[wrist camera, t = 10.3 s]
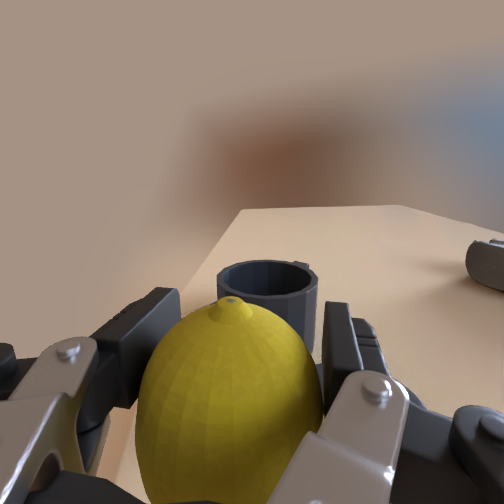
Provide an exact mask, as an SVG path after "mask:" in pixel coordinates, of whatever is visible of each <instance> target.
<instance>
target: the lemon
mask: <svg viewBox="0 0 504 504" xmlns="http://www.w3.org/2000/svg"><path fill="white" fill-rule="evenodd" d="M323 421H324V403H323V397H322V391H321V385H320V380H319V375H318V372H317V368H316V365H315V363H314V361H313V358H312V356H311V354H310V352H309V350H308V349H307V347H306V345H305V343H304V342H303V340H302V339H301V337H300V336H299V335H298V334H297V333H296V332H295V330H294V329H293V328H292V327H291V326H290V325H289V324H288V323H286V322H285V321H284V320H283V319H281V318H280V317H279V316H277V315H276V314H274V313H272V312H271V311H269V310H267V309H265V308H262V307H260V306H257V305H254V304H249V303H245V302H244V301H243V300H242V299H240V298H238V297H234V296H228V297H223V298H221V299H219V300H218V301H217V302H216V303H215V304H212V305H208V306H205V307H203V308H200V309H198V310H196V311H194V312H192V313H190V314H189V315H187V316H186V317H184V318H183V319H182V320H180V321H179V322H178V323H177V324H175V325H174V326H173V327H172V328H171V329H170V330H169V332H168V333H167V334H166V335H165V336H164V337H163V338H162V339H161V340H160V342H159V343H158V345H157V346H156V348H155V350H154V351H153V353H152V355H151V358H150V360H149V362H148V364H147V367H146V369H145V372H144V374H143V378H142V382H141V385H140V391H139V396H138V405H137V416H136V426H135V446H136V454H137V459H138V464H139V468H140V473H141V477H142V482H143V485H144V488H145V492H146V494H147V496H148V498H149V501H150V502H151V504H166V503H179V502H191V501H204V500H208V501H213V502H217V503H222V504H266V503H267V501H268V500H269V498H270V496H271V494H272V493H273V491H274V489H275V487H276V485H277V484H278V482H279V480H280V478H281V477H282V475H283V473H284V471H285V469H286V468H287V466H288V464H289V462H290V461H291V459H292V457H293V455H294V453H295V452H296V450H297V448H298V446H299V445H300V443H301V441H302V439H303V438H304V436H305V435H306V434H307V433H308V432H309V431H312V432H314V433H316V434H317V433H318V431H319V429H320V427H321V425H322V423H323Z"/></svg>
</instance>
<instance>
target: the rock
mask: <svg viewBox="0 0 504 504" xmlns="http://www.w3.org/2000/svg"><path fill="white" fill-rule="evenodd" d="M465 262H466V268H467V271H468V273H469V274H470V276H471V277H472V278H473V279H474V280H476V281H477V282H479V283H481V284H483V285H486V286H488V287H491V288H495V289H498V290H502V291H504V241H501V240H499V239H492V240H490V242H489V243H488V242H482V241H479V242H477V241H476V240H475V241H474V242H473V243H472V244H471V245H470V246H469V248H468V251H467V254H466V260H465Z"/></svg>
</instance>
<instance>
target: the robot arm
mask: <svg viewBox="0 0 504 504" xmlns="http://www.w3.org/2000/svg"><path fill="white" fill-rule="evenodd" d="M180 320H181V310H180V297H179V292H178V290H177V289H174V288H162V287H156V288H155V289H154V290H152V291H151V292H150V293H149V294H148V295H146V296H145V297H144V298H142V299H140V300H138V301H135V302H133V303H131V304H129V305H128V306H126V307H125V308H124V309H123V310H122V311H121V312H120V313H118V314H117V315H115V316H114V317H113V319H110V320H109V321H108V322H107V323H106V324H104V325H103V326H102V327H101V328H99V329H98V330H97V331H96V332H94V333H93V334H92V335H91V336H89V337H73V338H69V339H65V340H62V341H59V342H57V343H55V344H53V345H51V346H49V347H48V348H47V349H45V350H44V351H43V352H42V353H41V355H40V356H39V357H37V358H27V359H16V356H15V352H14V349H13V346H12V345H10V344H7V343H0V504H146V503H144V502H142V501H140V500H139V499H137V498H136V497H134V496H133V495H131V494H129V493H128V492H126V491H125V490H123V489H121V488H120V487H118V486H117V485H115V484H113V483H112V482H110V481H109V480H107V479H103V478H98V477H96V473H97V469H98V466H99V462H100V459H101V455H102V452H103V448H104V444H105V441H106V437H107V434H108V430H109V426H110V415H109V412H110V411H111V410H112V408H113V407H119V408H125V409H130V408H131V406H132V405H133V404H134V402H135V401H136V400H137V398H138V396H139V391H140V385H141V382H142V378H143V374H144V372H145V369H146V367H147V364H148V362H149V360H150V358H151V355H152V353H153V351H154V350H155V348H156V346H157V345H158V343H159V342H160V340H161V339H162V338H163V337H164V336H165V335H166V334H167V333H168V332H169V330H170V329H171V328H172V327H173V326H174V325H175V324H177V323H178V322H179V321H180ZM322 377H323V398H324V421H323V423H322V425H321V427H320V429H319V431H318V433H317V434H316V433H314V432H312V431H309V432H308V433H307V434H306V435H305V436H304V438H303V439H302V441H301V443H300V445H299V446H298V448H297V450H296V452H295V453H294V455H293V457H292V459H291V461H290V462H289V464H288V466H287V468H286V469H285V471H284V473H283V475H282V477H281V478H280V480H279V482H278V484H277V485H276V487H275V489H274V491H273V493H272V494H271V496H270V498H269V500H268V501H267V503H266V504H390V503H391V504H504V414H502V413H500V412H498V411H495V410H493V409H490V408H486V407H481V406H473V405H470V406H463V407H460V408H459V409H457V410H456V411H455V414H454V417H453V419H452V418H449V417H447V416H444V415H441V414H438V413H435V412H433V411H430V410H427V409H425V408H422V407H420V406H418V405H416V404H415V403H413V402H411V401H410V400H409V396H408V393H407V391H406V390H405V389H404V387H403V386H402V385H401V384H400V383H398V382H397V381H396V380H394V379H393V378H391V376H390V373H389V371H388V368H387V365H386V362H385V359H384V356H383V354H382V351H381V348H380V345H379V342H378V340H377V337H376V334H375V331H374V328H373V327H372V326H371V325H370V324H369V323H368V322H367V321H366V320H364V319H361V318H351V314H350V310H349V306H348V303H341V302H329V301H326V303H325V312H324V325H323V337H322ZM166 504H222V503H217V502H213V501H208V500H204V501H191V502H179V503H166Z"/></svg>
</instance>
